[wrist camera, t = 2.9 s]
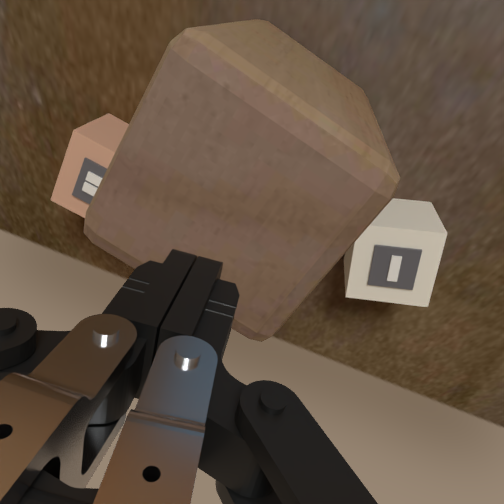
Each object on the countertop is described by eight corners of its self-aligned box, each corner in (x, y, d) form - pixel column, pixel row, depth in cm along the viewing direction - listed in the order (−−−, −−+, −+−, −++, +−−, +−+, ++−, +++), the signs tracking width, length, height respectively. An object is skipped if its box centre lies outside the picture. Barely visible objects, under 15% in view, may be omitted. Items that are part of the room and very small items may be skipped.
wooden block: (294, 200, 39) (263, 358, 21) (190, 131, 38) (66, 238, 20) (372, 95, 34) (415, 184, 17) (258, 12, 33) (174, 15, 15)
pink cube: (175, 150, 39) (149, 174, 33) (149, 209, 41) (121, 240, 36) (109, 113, 38) (71, 131, 32) (86, 175, 41) (48, 201, 35)
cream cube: (430, 201, 37) (448, 235, 32) (415, 268, 40) (428, 309, 35) (354, 194, 38) (357, 226, 33) (343, 260, 41) (345, 299, 35)
